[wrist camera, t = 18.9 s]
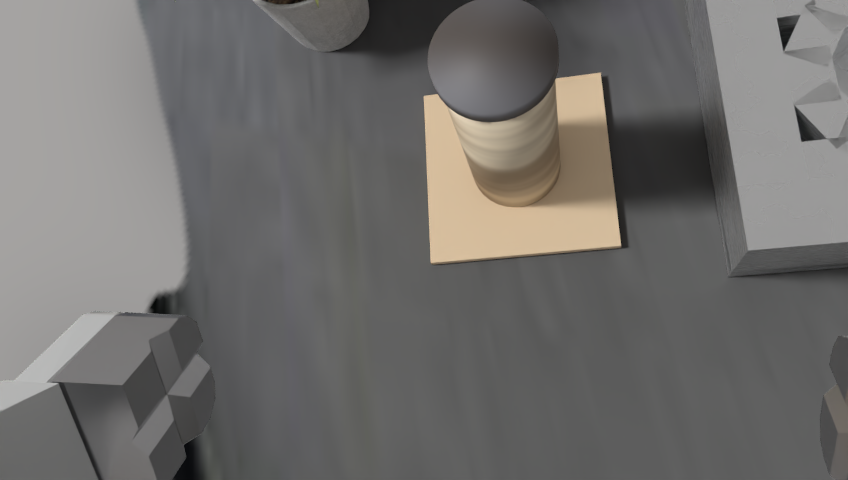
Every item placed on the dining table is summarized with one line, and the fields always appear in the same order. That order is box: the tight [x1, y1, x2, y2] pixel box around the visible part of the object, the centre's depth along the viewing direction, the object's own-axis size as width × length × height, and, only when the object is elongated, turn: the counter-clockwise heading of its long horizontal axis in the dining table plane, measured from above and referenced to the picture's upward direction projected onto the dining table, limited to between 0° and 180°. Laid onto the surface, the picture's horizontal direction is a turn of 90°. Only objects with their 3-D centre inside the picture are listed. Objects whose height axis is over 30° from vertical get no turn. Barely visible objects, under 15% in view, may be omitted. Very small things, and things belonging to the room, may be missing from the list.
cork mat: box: [424, 73, 621, 265], centre depth 41 cm, size 10×10×1 cm
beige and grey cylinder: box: [428, 0, 561, 207], centre depth 36 cm, size 5×5×12 cm
